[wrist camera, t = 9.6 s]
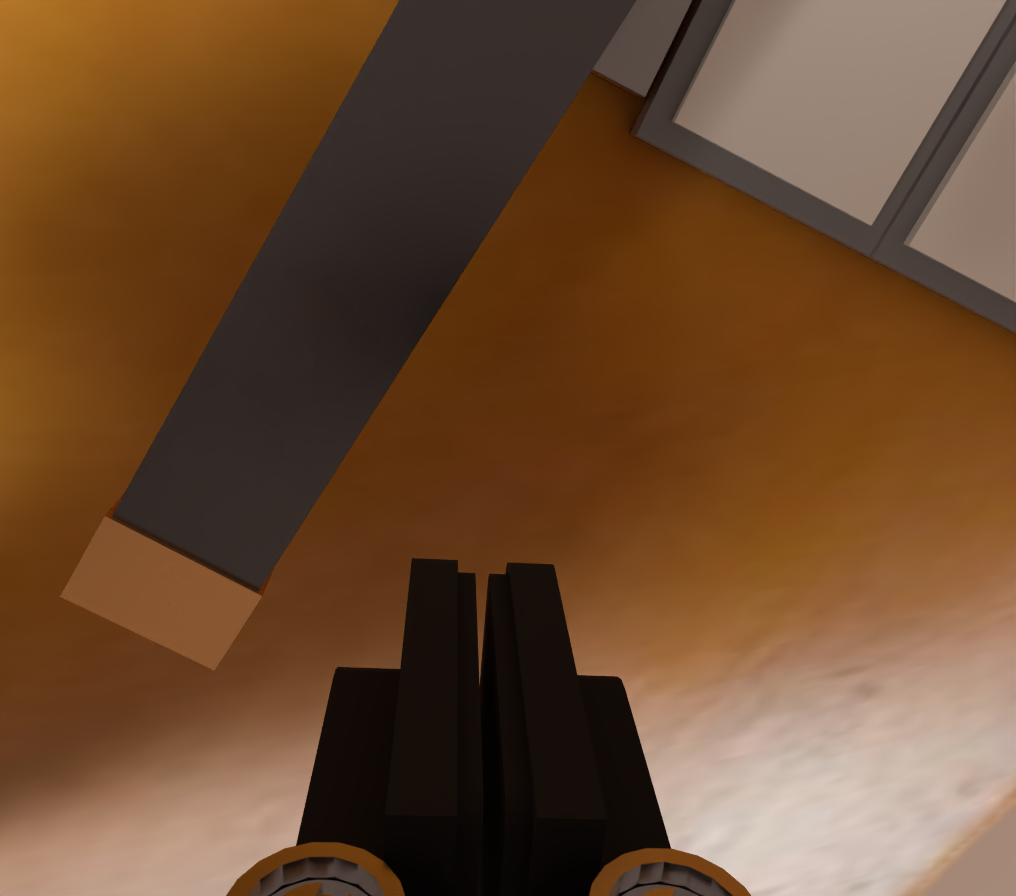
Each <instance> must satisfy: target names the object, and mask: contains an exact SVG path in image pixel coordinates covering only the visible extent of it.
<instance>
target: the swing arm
mask: <svg viewBox="0 0 1016 896" xmlns="http://www.w3.org/2000/svg"><path fill="white" fill-rule="evenodd" d="M636 1H637V0H400V1H399V2H398V4H397V6H396V8H395V9H394V11H393V13H392V15H391V17H390V18H389V20H388V22H387V24H386V26H385V27H384V29H383V31H382V33H381V35H380V36H379V38H378V40H377V42H376V44H375V45H374V47H373V49H372V51H371V53H370V54H369V56H368V58H367V60H366V61H365V63H364V65H363V67H362V69H361V70H360V72H359V74H358V76H357V78H356V79H355V81H354V83H353V85H352V87H351V88H350V90H349V92H348V94H347V96H346V97H345V99H344V101H343V103H342V104H341V106H340V108H339V110H338V112H337V113H336V115H335V117H334V119H333V121H332V122H331V124H330V126H329V128H328V130H327V131H326V133H325V135H324V137H323V139H322V140H321V142H320V144H319V146H318V147H317V149H316V151H315V153H314V155H313V156H312V158H311V160H310V162H309V164H308V165H307V167H306V169H305V171H304V173H303V174H302V176H301V178H300V180H299V182H298V183H297V185H296V187H295V189H294V191H293V192H292V194H291V196H290V198H289V199H288V201H287V203H286V205H285V207H284V208H283V210H282V212H281V214H280V216H279V217H278V219H277V221H276V223H275V225H274V226H273V228H272V230H271V232H270V234H269V235H268V237H267V239H266V241H265V242H264V244H263V246H262V248H261V250H260V251H259V253H258V255H257V257H256V259H255V260H254V262H253V264H252V266H251V268H250V269H249V271H248V273H247V275H246V277H245V278H244V280H243V282H242V284H241V286H240V287H239V289H238V291H237V293H236V294H235V296H234V298H233V300H232V302H231V303H230V305H229V307H228V309H227V311H226V312H225V314H224V316H223V318H222V320H221V321H220V323H219V325H218V327H217V329H216V330H215V332H214V334H213V336H212V337H211V339H210V341H209V343H208V345H207V346H206V348H205V350H204V352H203V354H202V355H201V357H200V359H199V361H198V363H197V364H196V366H195V368H194V370H193V372H192V373H191V375H190V377H189V379H188V381H187V382H186V384H185V386H184V388H183V389H182V391H181V393H180V395H179V397H178V398H177V400H176V402H175V404H174V406H173V407H172V409H171V411H170V413H169V415H168V416H167V418H166V420H165V422H164V424H163V425H162V427H161V429H160V431H159V432H158V434H157V436H156V438H155V440H154V441H153V443H152V445H151V447H150V449H149V450H148V452H147V454H146V456H145V458H144V459H143V461H142V463H141V465H140V467H139V468H138V470H137V472H136V474H135V476H134V477H133V479H132V481H131V483H130V484H129V486H128V488H127V490H126V492H125V493H124V494H123V496H122V497H121V498H120V499H119V500H118V501H117V502H116V504H115V505H114V506H113V507H112V508H111V509H110V510H109V511H108V513H107V514H106V515H105V516H104V518H103V520H102V522H101V523H100V525H99V527H98V529H97V531H96V532H95V534H94V536H93V538H92V540H91V541H90V543H89V545H88V547H87V549H86V550H85V552H84V554H83V556H82V558H81V559H80V561H79V563H78V565H77V567H76V568H75V570H74V572H73V574H72V576H71V577H70V579H69V581H68V583H67V585H66V586H65V588H64V590H63V592H62V594H61V595H60V597H62V598H64V599H66V600H68V601H70V602H72V603H74V604H76V605H78V606H80V607H82V608H85V609H87V610H89V611H91V612H93V613H95V614H97V615H99V616H101V617H103V618H105V619H107V620H110V621H112V622H114V623H116V624H118V625H120V626H122V627H124V628H126V629H128V630H130V631H132V632H135V633H137V634H139V635H141V636H143V637H145V638H147V639H149V640H151V641H153V642H155V643H158V644H160V645H162V646H164V647H166V648H168V649H170V650H172V651H174V652H176V653H178V654H180V655H183V656H185V657H187V658H189V659H191V660H193V661H195V662H197V663H199V664H201V665H203V666H206V667H208V668H210V669H212V670H214V671H215V669H216V668H217V666H218V664H219V663H220V661H221V660H222V658H223V657H224V655H225V654H226V652H227V650H228V649H229V647H230V646H231V644H232V643H233V641H234V639H235V638H236V636H237V635H238V633H239V632H240V630H241V629H242V627H243V625H244V624H245V622H246V621H247V619H248V618H249V616H250V615H251V613H252V611H253V610H254V608H255V607H256V605H257V604H258V602H259V601H260V599H261V597H262V596H263V593H264V591H265V588H266V586H267V584H268V581H269V579H270V576H271V574H272V571H273V569H274V566H275V565H276V563H277V562H278V560H279V559H280V557H281V556H282V554H283V552H284V551H285V549H286V548H287V546H288V545H289V543H290V541H291V540H292V538H293V537H294V535H295V534H296V532H297V531H298V529H299V527H300V526H301V524H302V523H303V521H304V520H305V518H306V516H307V515H308V513H309V512H310V510H311V509H312V507H313V506H314V504H315V502H316V501H317V499H318V498H319V496H320V495H321V493H322V491H323V490H324V488H325V487H326V485H327V484H328V482H329V481H330V479H331V477H332V476H333V474H334V473H335V471H336V470H337V468H338V466H339V465H340V463H341V462H342V460H343V459H344V457H345V455H346V454H347V452H348V451H349V449H350V448H351V446H352V445H353V443H354V441H355V440H356V438H357V437H358V435H359V434H360V432H361V430H362V429H363V427H364V426H365V424H366V423H367V421H368V420H369V418H370V416H371V415H372V413H373V412H374V410H375V409H376V407H377V405H378V404H379V402H380V401H381V399H382V398H383V396H384V395H385V393H386V391H387V390H388V388H389V387H390V385H391V384H392V382H393V380H394V379H395V377H396V376H397V374H398V373H399V371H400V370H401V368H402V366H403V365H404V363H405V362H406V360H407V359H408V357H409V355H410V354H411V352H412V351H413V349H414V348H415V346H416V344H417V343H418V341H419V340H420V338H421V337H422V335H423V334H424V332H425V330H426V329H427V327H428V326H429V324H430V323H431V321H432V319H433V318H434V316H435V315H436V313H437V312H438V310H439V309H440V307H441V305H442V304H443V302H444V301H445V299H446V298H447V296H448V294H449V293H450V291H451V290H452V288H453V287H454V285H455V284H456V282H457V280H458V279H459V277H460V276H461V274H462V273H463V271H464V269H465V268H466V266H467V265H468V263H469V262H470V260H471V259H472V257H473V255H474V254H475V252H476V251H477V249H478V248H479V246H480V244H481V243H482V241H483V240H484V238H485V237H486V235H487V234H488V232H489V230H490V229H491V227H492V226H493V224H494V223H495V221H496V219H497V218H498V216H499V215H500V213H501V212H502V210H503V208H504V207H505V205H506V204H507V202H508V201H509V199H510V198H511V196H512V194H513V193H514V191H515V190H516V188H517V187H518V185H519V183H520V182H521V180H522V179H523V177H524V176H525V174H526V173H527V171H528V169H529V168H530V166H531V165H532V163H533V162H534V160H535V158H536V157H537V155H538V154H539V152H540V151H541V149H542V148H543V146H544V144H545V143H546V141H547V140H548V138H549V137H550V135H551V133H552V132H553V130H554V129H555V127H556V126H557V124H558V123H559V121H560V119H561V118H562V116H563V115H564V113H565V112H566V110H567V108H568V107H569V105H570V104H571V102H572V101H573V99H574V97H575V96H576V94H577V93H578V91H579V90H580V88H581V87H582V85H583V83H584V82H585V80H586V79H587V77H588V76H589V74H590V72H591V71H592V69H593V68H594V66H595V65H596V63H597V62H598V60H599V58H600V57H601V55H602V54H603V52H604V51H605V49H606V47H607V46H608V44H609V43H610V41H611V40H612V38H613V37H614V35H615V33H616V32H617V30H618V29H619V27H620V26H621V24H622V22H623V21H624V19H625V18H626V16H627V15H628V13H629V12H630V10H631V8H632V7H633V5H634V4H635V2H636Z"/></svg>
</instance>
